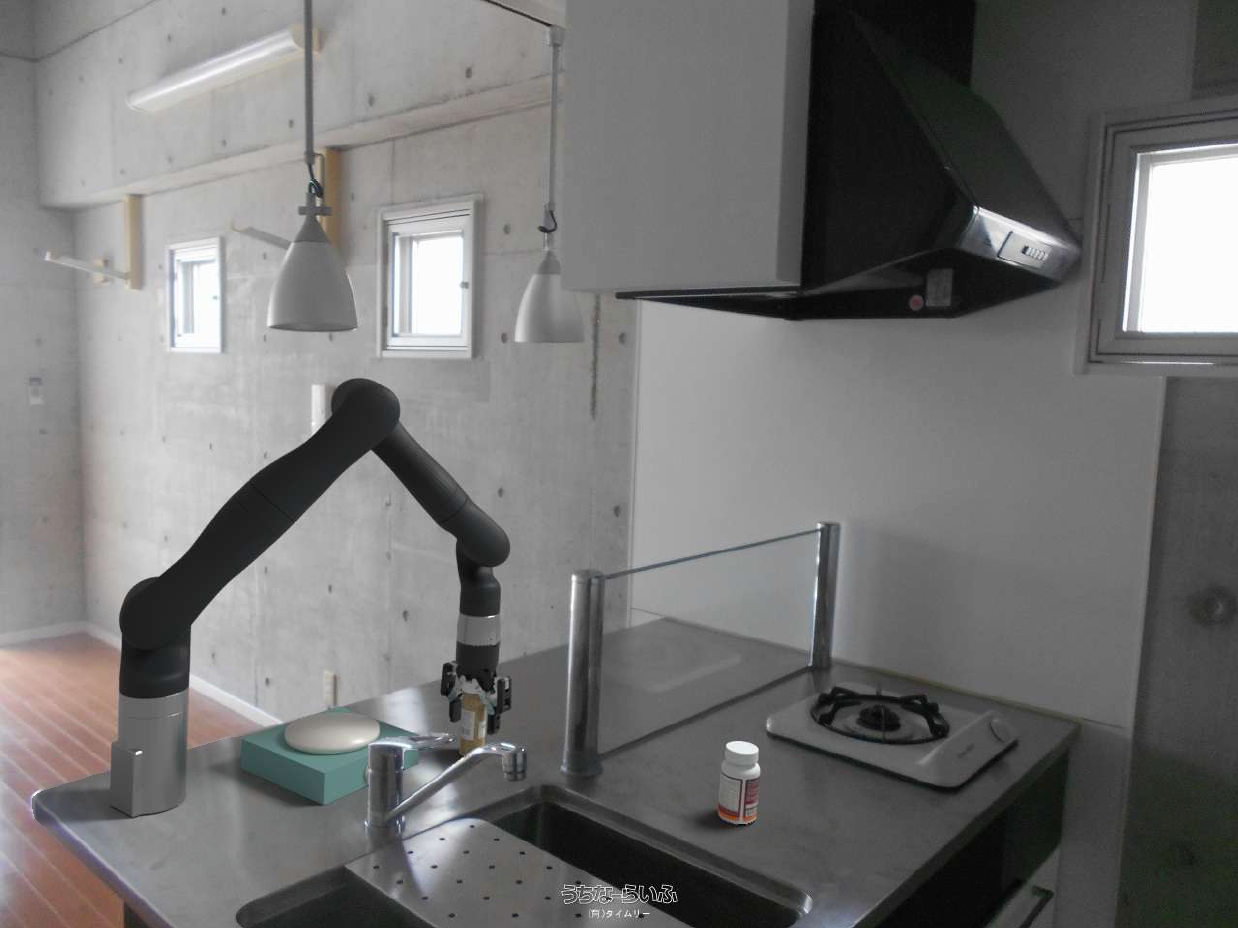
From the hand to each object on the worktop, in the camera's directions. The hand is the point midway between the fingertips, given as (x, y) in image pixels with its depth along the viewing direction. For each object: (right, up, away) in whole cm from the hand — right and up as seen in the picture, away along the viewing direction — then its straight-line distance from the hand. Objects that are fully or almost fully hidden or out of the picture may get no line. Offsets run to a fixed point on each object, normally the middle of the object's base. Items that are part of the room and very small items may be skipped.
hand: (473, 727), depth 159 cm
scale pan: (-22, +1, -9) cm, 24 cm away
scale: (-22, -4, -8) cm, 24 cm away
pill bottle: (+44, -9, -17) cm, 48 cm away
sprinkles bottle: (0, -5, 0) cm, 5 cm away
